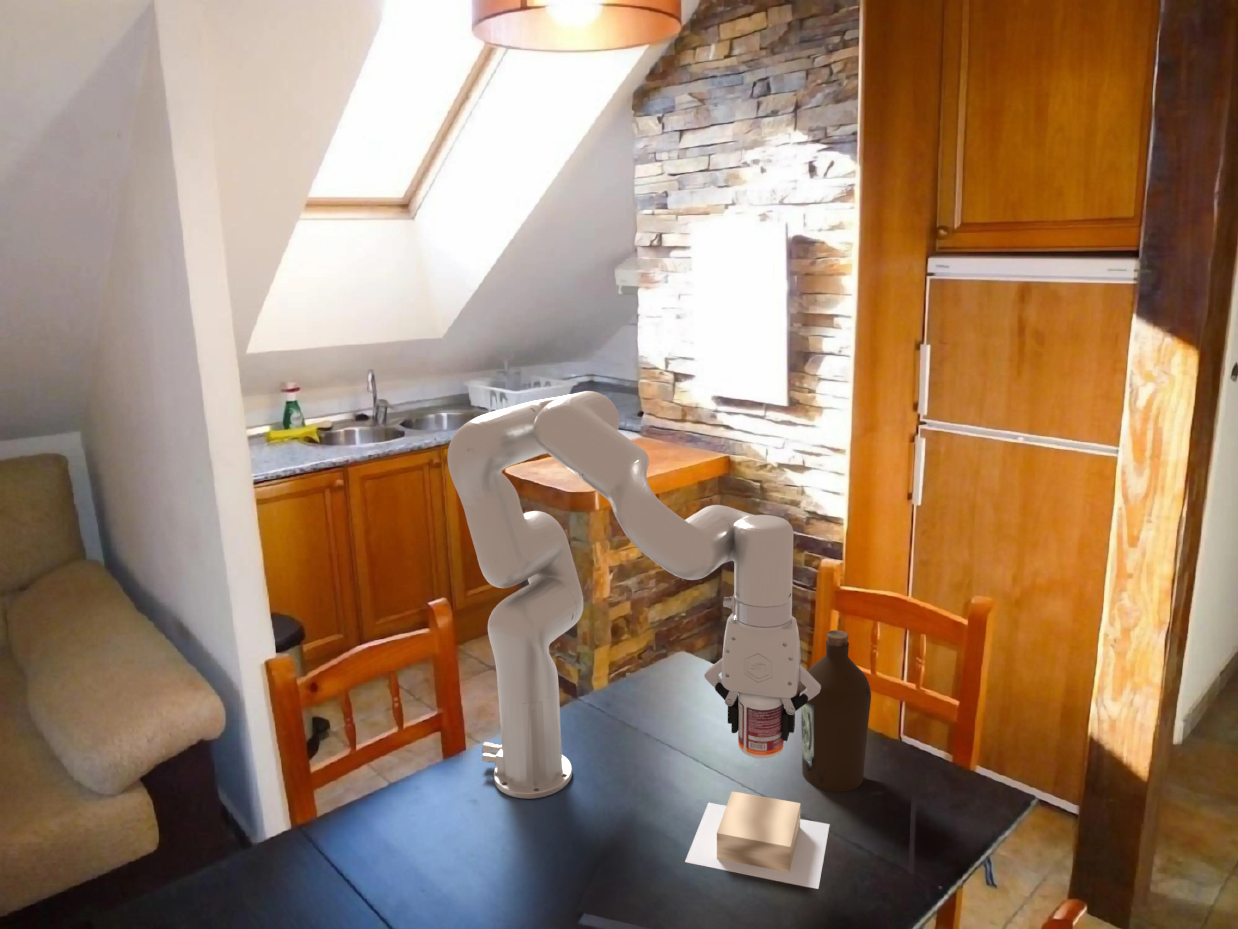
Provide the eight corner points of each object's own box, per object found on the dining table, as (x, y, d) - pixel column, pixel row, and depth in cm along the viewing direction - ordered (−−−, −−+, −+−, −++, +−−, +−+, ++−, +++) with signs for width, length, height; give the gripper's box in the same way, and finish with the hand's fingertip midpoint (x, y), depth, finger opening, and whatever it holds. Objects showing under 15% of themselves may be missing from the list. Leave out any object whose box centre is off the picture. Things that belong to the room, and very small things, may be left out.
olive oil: (859, 761, 147) (865, 619, 141) (873, 800, 137) (881, 649, 131) (794, 760, 148) (797, 619, 142) (803, 799, 138) (807, 649, 132)
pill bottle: (792, 750, 122) (794, 674, 119) (758, 765, 119) (760, 688, 116) (762, 731, 127) (763, 658, 124) (728, 745, 124) (729, 670, 121)
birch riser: (716, 858, 124) (716, 833, 123) (731, 815, 133) (731, 791, 132) (789, 873, 120) (790, 847, 119) (799, 827, 130) (800, 803, 129)
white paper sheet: (684, 868, 123) (684, 862, 123) (708, 808, 136) (708, 802, 136) (818, 895, 118) (818, 889, 117) (829, 830, 130) (829, 824, 130)
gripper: (691, 613, 117) (692, 736, 122) (826, 628, 112) (822, 757, 116) (705, 592, 124) (705, 709, 129) (832, 605, 119) (828, 727, 123)
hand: (760, 731), depth 122 cm, fingers closed on pill bottle, 6 cm apart
